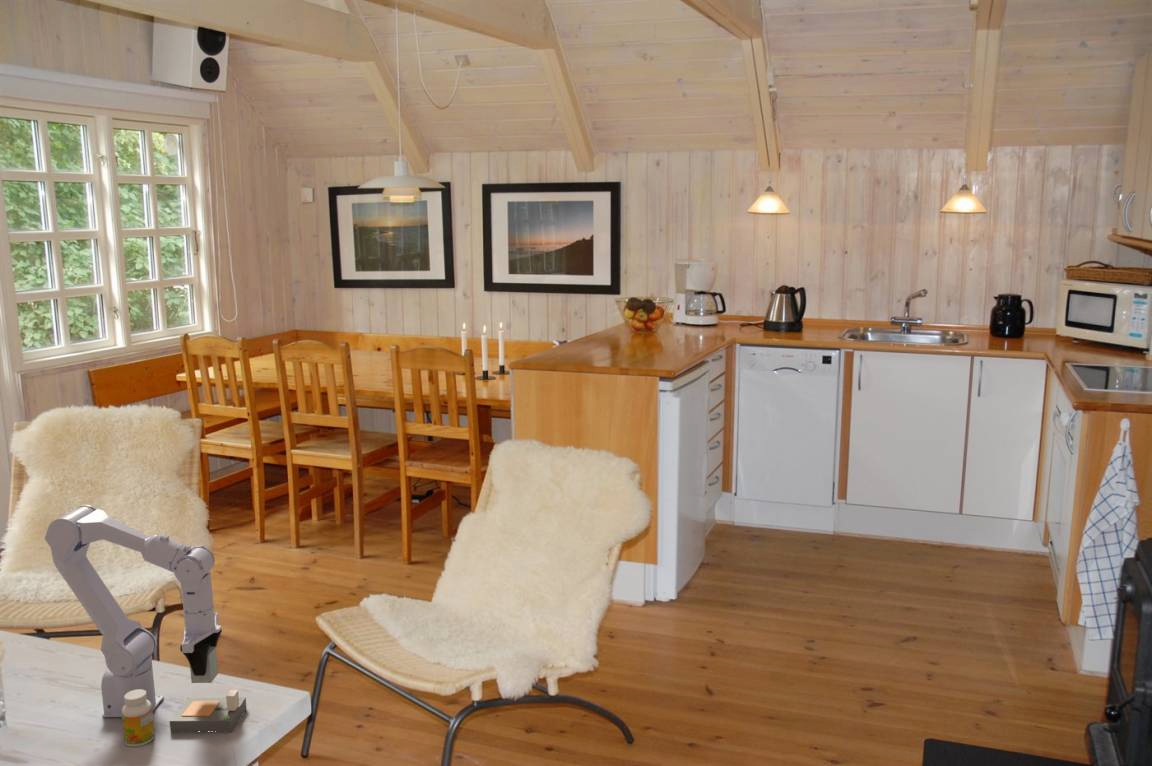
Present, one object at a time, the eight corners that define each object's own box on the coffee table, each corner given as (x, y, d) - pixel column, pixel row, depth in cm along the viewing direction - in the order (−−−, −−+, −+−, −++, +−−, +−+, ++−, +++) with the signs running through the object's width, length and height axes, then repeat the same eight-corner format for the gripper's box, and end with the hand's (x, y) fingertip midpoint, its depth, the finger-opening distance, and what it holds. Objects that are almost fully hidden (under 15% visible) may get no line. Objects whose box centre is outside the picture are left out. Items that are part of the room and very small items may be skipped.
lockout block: (191, 683, 195) (189, 655, 194) (199, 673, 199) (196, 646, 198) (211, 682, 195) (208, 655, 194) (218, 673, 199) (216, 646, 198)
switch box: (170, 732, 190) (169, 719, 189) (188, 708, 199) (187, 696, 198) (230, 732, 190) (229, 719, 189) (246, 708, 199) (245, 696, 198)
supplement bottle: (118, 743, 186) (113, 697, 184) (142, 729, 191) (137, 684, 189) (137, 750, 184) (132, 703, 182) (160, 736, 188) (156, 691, 187)
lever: (227, 710, 192) (225, 696, 192) (231, 704, 195) (230, 690, 194) (235, 710, 192) (233, 696, 192) (239, 704, 195) (238, 690, 194)
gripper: (204, 622, 187) (210, 686, 190) (230, 592, 201) (235, 652, 204) (168, 623, 187) (174, 687, 190) (197, 593, 201) (202, 653, 204)
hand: (204, 669), depth 197 cm, fingers closed on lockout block, 4 cm apart
